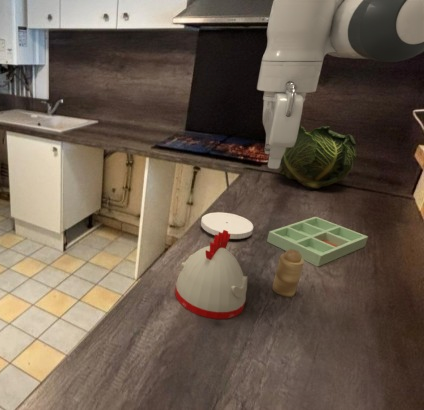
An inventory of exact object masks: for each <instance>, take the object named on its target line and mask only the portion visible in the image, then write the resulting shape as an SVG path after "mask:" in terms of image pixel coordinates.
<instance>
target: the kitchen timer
mask: <svg viewBox="0 0 424 410" xmlns="http://www.w3.org/2000/svg"><path fill="white" fill-rule="evenodd" d="M230 235H231V234H229V233H228V231H226V230H223V233H221V232H219V234H218V235H216V234H215V235H214V238H213V242H212V241H210V243H209V245H208V246H207V245H206V246H204V247H202V248H200V249H198V250H197V251H195V252H193V253H192V254H190V255H189V256H188V258H187V259H186V260H185V261H182V262H181V265H180V269H179V271H180V272H179V274H178V276H177V280H176V284H175V291H174V294H175V297H176V299H177V301H178V302H179V303H180V305H181V306H183V307H184V308H185V309H186V310H188V311H190V312H192V313H193V314H195V315H197V316H202V317H203V318H206V319H207V318H208V319H213V320H228V319H231V318H235V317H236V316H238V315H240V314H241V313H242V312H243V310H244V308H245V306H246V305H245V304H246V301H247V300H246V299H247V296H246V295H247V291H248V276H246V275H244V272H243V270H242V268H241V265H240V263H239V261H238V260H237V259H236V257H235V256H234V254H232V252H230V251H229V250H228V249H227V246H228V244H229V241H230Z"/></svg>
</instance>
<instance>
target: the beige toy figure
mask: <svg viewBox="0 0 424 410" xmlns="http://www.w3.org/2000/svg"><path fill="white" fill-rule="evenodd" d="M304 264H305V260H303V259H302V258H301V254H300V253H299V252H298V251H297V250H293V249H291V250H287V251H285V252H284V253H282V254H280V255H279V260H278V263H277V267H276V270H275V275H274V278H273V283H272V290H273V292H274V293H276V294H278V295H280V296H282V297H294V296H295V295H296V291H297V288H298V284H299V281H300V278H301V274H302V271H303V267H304Z"/></svg>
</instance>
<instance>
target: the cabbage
mask: <svg viewBox="0 0 424 410" xmlns="http://www.w3.org/2000/svg"><path fill="white" fill-rule="evenodd" d="M356 147H357V143H356V141H355V139H354V136H353V135H351V134H350V133H349V134H346V135H343V134H340V133H338V132H335V131H333V130H330V126H327V125H326V126H321V127H314V128H313V129H312V130H311V131H310V132H309V131H308V132H307V130H306V128H305V127H304V126H303V125H299V130H298V135H297V139H296V142H295V144H294V146H293V147H286V149H285V152H284V154H283V157H282V159H281V163H280V167H279V172H278V173H279V174H281V175H284V176H286V177H287V179H289V180H293V181H295V180H296V182H298V183H299V184H301V185H303V186H304V188H305V189H306V190H308V191H312V190H318V189H320V188H321V187H327V186H330V185H333V184H335V183H338V182H339V181H341V180H343V179H344V178H346V177H347V176H348V175H349V173H351V171H352V169H353V167H354V162H355V161H356V159H357V157H358V156H357V155H358V153H357V149H356Z"/></svg>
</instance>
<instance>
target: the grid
mask: <svg viewBox="0 0 424 410" xmlns="http://www.w3.org/2000/svg"><path fill="white" fill-rule="evenodd" d="M368 238H369V236H368V235H365V234H362V233H360V232H357V231H355V230H352V229H350V228H347V227H344V226H341V225H339V224H336V223H334V222H331V221H329V220H325V219H324V218H320V217H318V216H313V217H310V218H307V219H304V220H300V221H297V222H294V223H291V224H288V225H286V226H282V227H280V228H279V227H278V228H276V229H273V230H269V231H268V236H267V238H266V242H267V243H269V244H271V245H273V246H275V247H277V248H279V249H280V250H283V251H285V252H286V251H287V250H291V249H293V250H297V251H298V252H299V253H300V254H301V258H302V259H303V260H304V262H307V263H310V264H311V265H313V266H315V267H317V268H319V267H321V266H324V265H326V264H327V263H331V262H332V261H335V260H338V259H339V258H342V257H344V256H346V255H349V254H351V253H354V252H356V251H358V250H360V249H363V248H365V247H366V244H367V241H368Z"/></svg>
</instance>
